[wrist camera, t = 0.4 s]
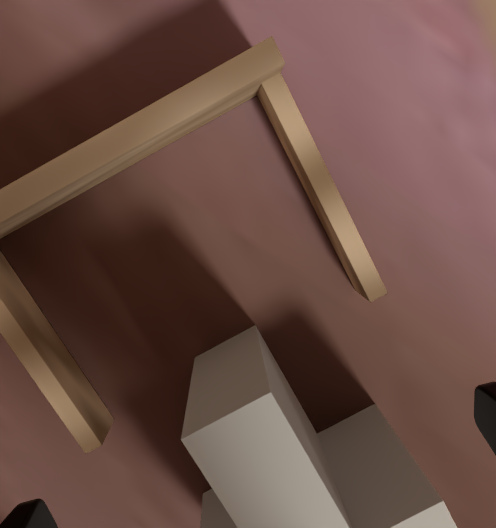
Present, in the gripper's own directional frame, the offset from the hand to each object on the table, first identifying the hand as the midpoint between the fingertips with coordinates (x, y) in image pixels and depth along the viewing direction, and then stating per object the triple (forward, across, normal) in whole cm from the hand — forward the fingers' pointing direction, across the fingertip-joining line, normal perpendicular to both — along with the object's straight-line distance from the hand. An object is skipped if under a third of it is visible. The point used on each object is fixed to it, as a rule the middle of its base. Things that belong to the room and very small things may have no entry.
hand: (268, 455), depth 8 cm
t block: (+13, -1, +12) cm, 18 cm away
